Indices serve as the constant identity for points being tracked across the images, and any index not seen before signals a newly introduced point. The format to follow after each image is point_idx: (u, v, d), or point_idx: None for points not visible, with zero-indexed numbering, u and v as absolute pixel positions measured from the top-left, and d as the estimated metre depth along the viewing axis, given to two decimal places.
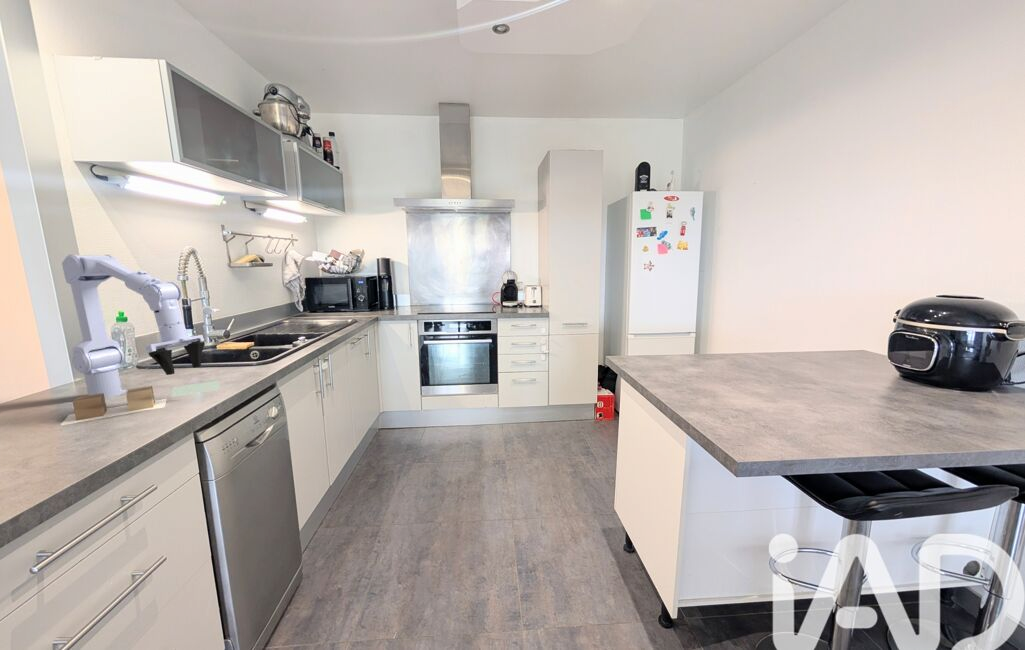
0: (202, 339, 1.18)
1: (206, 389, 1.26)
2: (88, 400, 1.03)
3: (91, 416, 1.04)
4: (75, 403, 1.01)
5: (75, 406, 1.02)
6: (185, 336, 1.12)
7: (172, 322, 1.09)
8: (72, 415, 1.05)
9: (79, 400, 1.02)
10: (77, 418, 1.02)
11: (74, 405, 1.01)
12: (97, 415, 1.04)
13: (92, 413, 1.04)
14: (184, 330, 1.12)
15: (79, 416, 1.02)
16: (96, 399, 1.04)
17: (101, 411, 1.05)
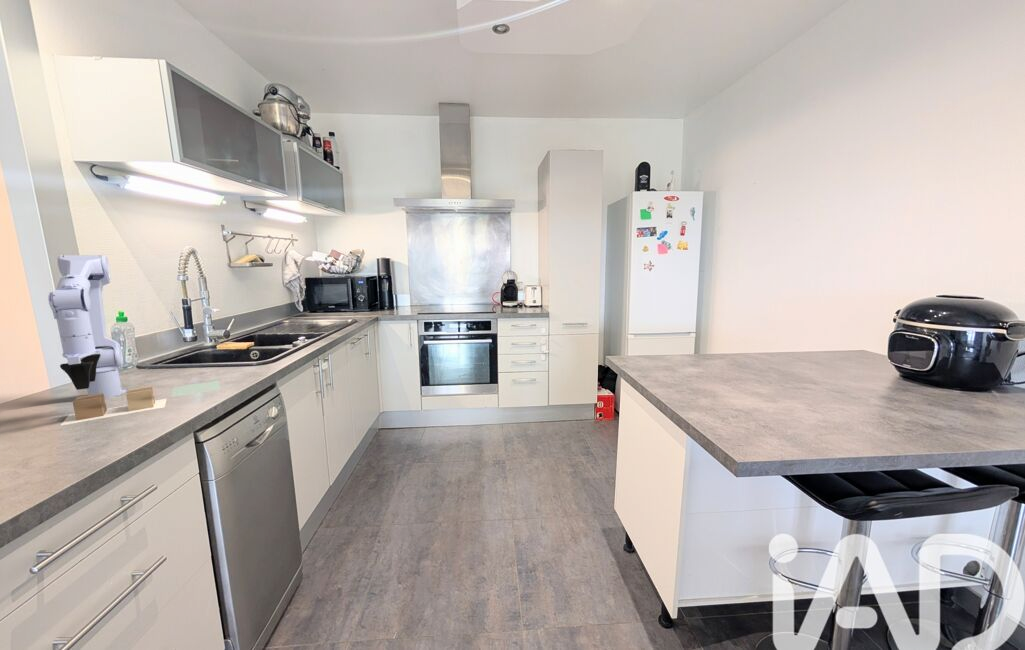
0: None
1: (206, 389, 1.26)
2: (88, 400, 1.03)
3: (91, 416, 1.04)
4: (75, 403, 1.01)
5: (75, 406, 1.02)
6: (94, 347, 1.05)
7: (66, 335, 0.99)
8: (72, 415, 1.05)
9: (79, 400, 1.02)
10: (77, 418, 1.02)
11: (74, 405, 1.01)
12: (97, 415, 1.04)
13: (92, 413, 1.04)
14: None
15: (79, 416, 1.02)
16: (96, 399, 1.04)
17: (101, 411, 1.05)
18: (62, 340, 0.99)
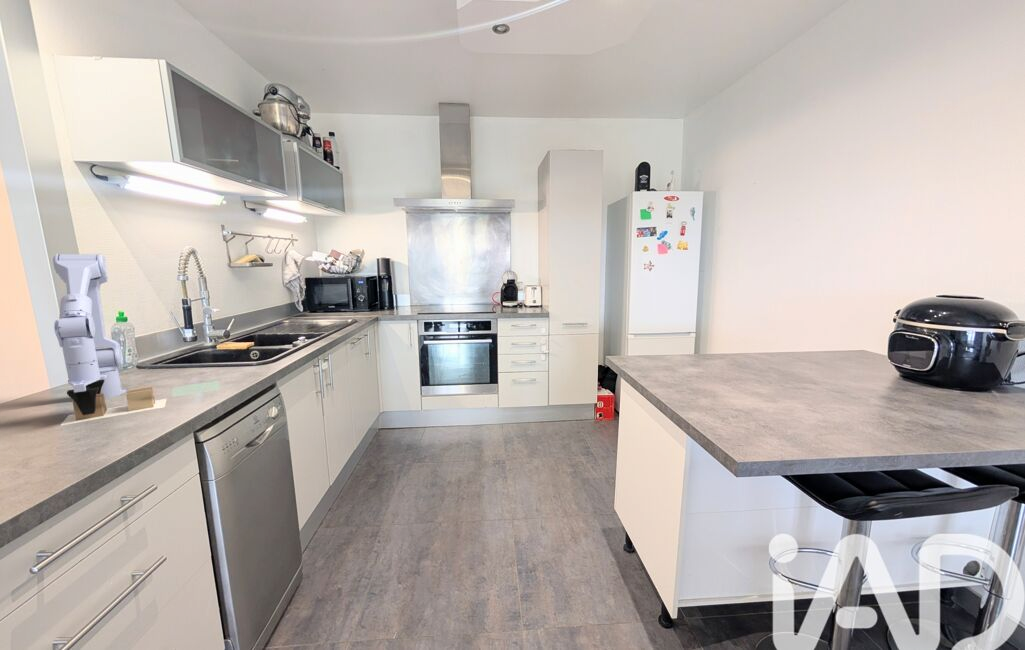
0: None
1: (206, 389, 1.26)
2: None
3: (91, 416, 1.04)
4: (75, 403, 1.01)
5: (75, 406, 1.02)
6: (99, 373, 1.06)
7: (71, 362, 1.00)
8: (72, 415, 1.05)
9: None
10: (77, 418, 1.02)
11: (74, 405, 1.01)
12: (97, 415, 1.04)
13: None
14: None
15: (79, 416, 1.02)
16: (96, 399, 1.04)
17: (101, 411, 1.05)
18: (67, 367, 1.00)
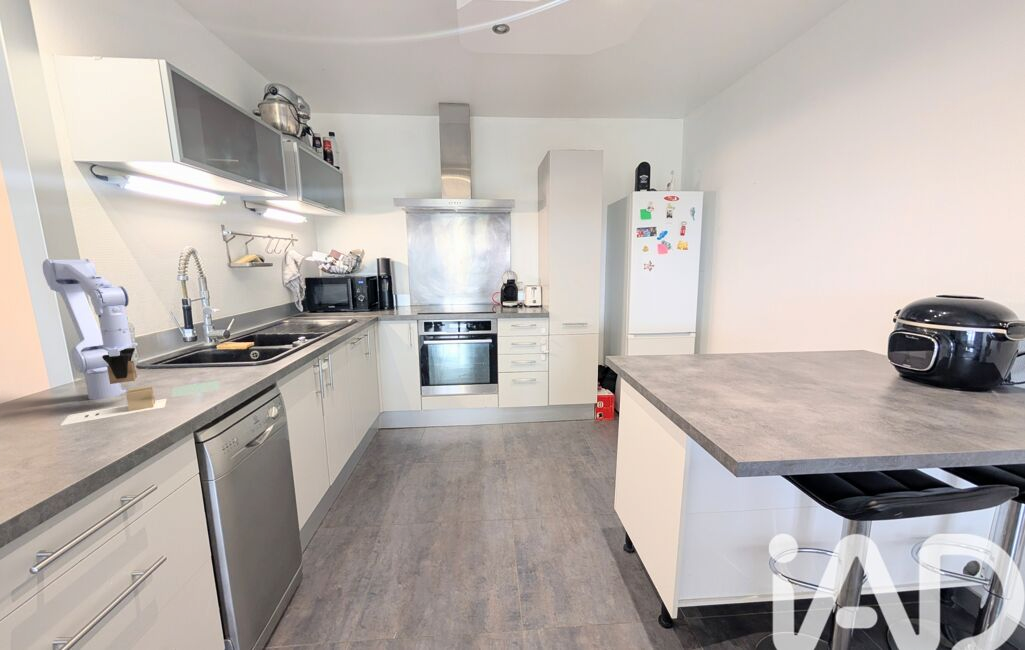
0: None
1: (206, 389, 1.26)
2: None
3: (123, 380, 1.11)
4: (109, 368, 1.09)
5: (109, 371, 1.09)
6: None
7: (112, 329, 1.08)
8: (72, 415, 1.05)
9: None
10: (111, 382, 1.10)
11: (108, 370, 1.09)
12: (129, 380, 1.12)
13: None
14: None
15: (113, 380, 1.10)
16: (128, 365, 1.12)
17: (132, 376, 1.12)
18: (103, 334, 1.08)
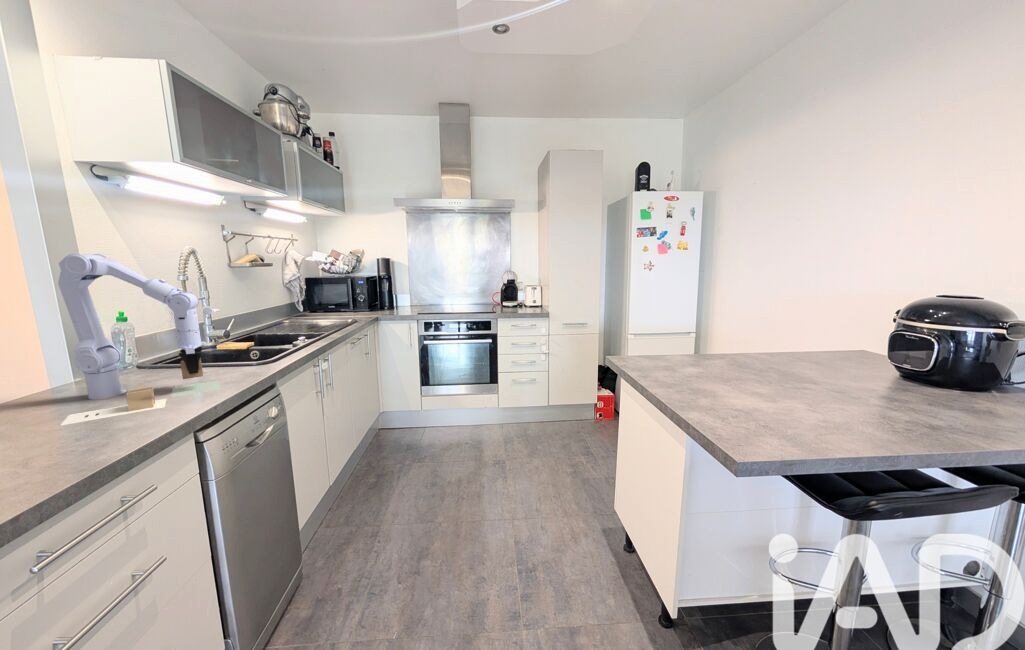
0: None
1: (206, 389, 1.26)
2: None
3: (194, 376, 1.25)
4: (182, 365, 1.22)
5: (182, 367, 1.23)
6: None
7: (194, 328, 1.24)
8: (72, 415, 1.05)
9: (184, 362, 1.23)
10: (183, 377, 1.23)
11: (181, 366, 1.22)
12: (198, 375, 1.25)
13: None
14: None
15: (185, 376, 1.23)
16: None
17: (201, 372, 1.26)
18: (178, 334, 1.22)
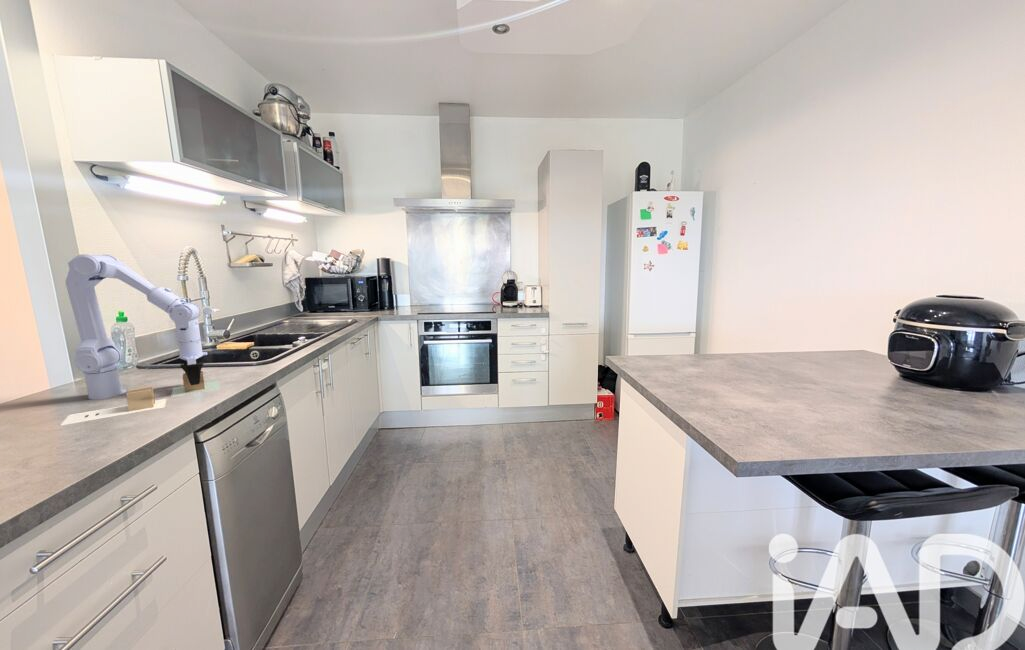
0: None
1: (206, 389, 1.26)
2: None
3: (196, 389, 1.25)
4: (184, 378, 1.23)
5: (184, 380, 1.23)
6: None
7: (196, 339, 1.24)
8: (72, 415, 1.05)
9: None
10: (185, 390, 1.24)
11: (183, 379, 1.23)
12: (200, 388, 1.26)
13: (196, 386, 1.25)
14: None
15: (187, 389, 1.24)
16: (200, 375, 1.26)
17: (203, 385, 1.26)
18: (180, 345, 1.22)
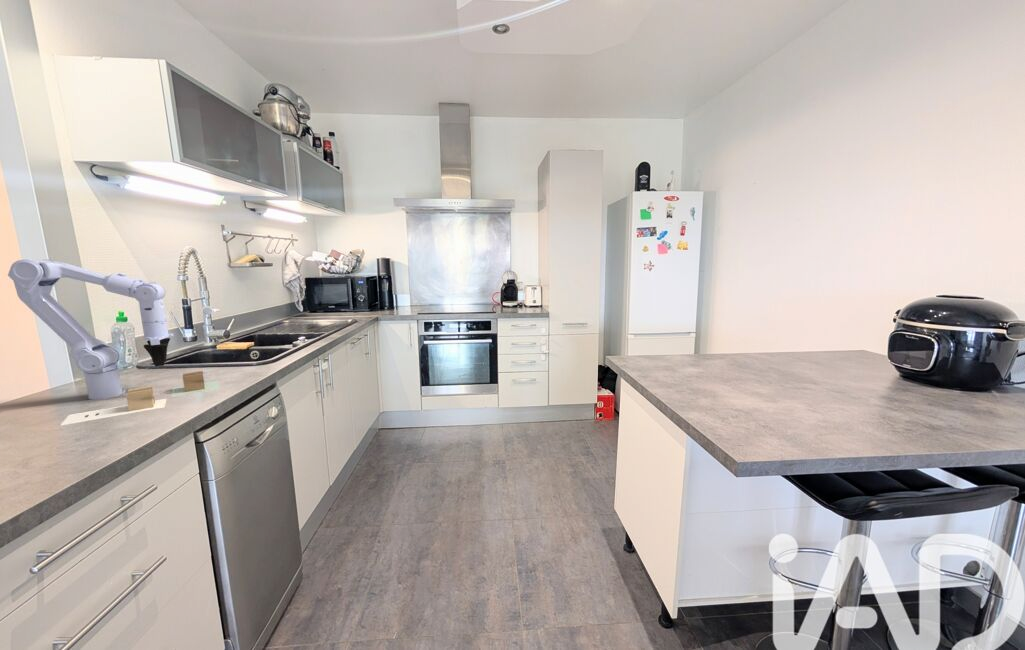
0: None
1: (206, 389, 1.26)
2: (194, 375, 1.25)
3: (196, 389, 1.25)
4: (184, 378, 1.23)
5: (184, 380, 1.23)
6: None
7: (162, 319, 1.22)
8: (72, 415, 1.05)
9: (187, 375, 1.24)
10: (185, 390, 1.24)
11: (183, 379, 1.23)
12: (200, 388, 1.26)
13: (196, 386, 1.25)
14: None
15: (187, 389, 1.24)
16: (200, 375, 1.26)
17: (203, 385, 1.26)
18: (144, 325, 1.20)
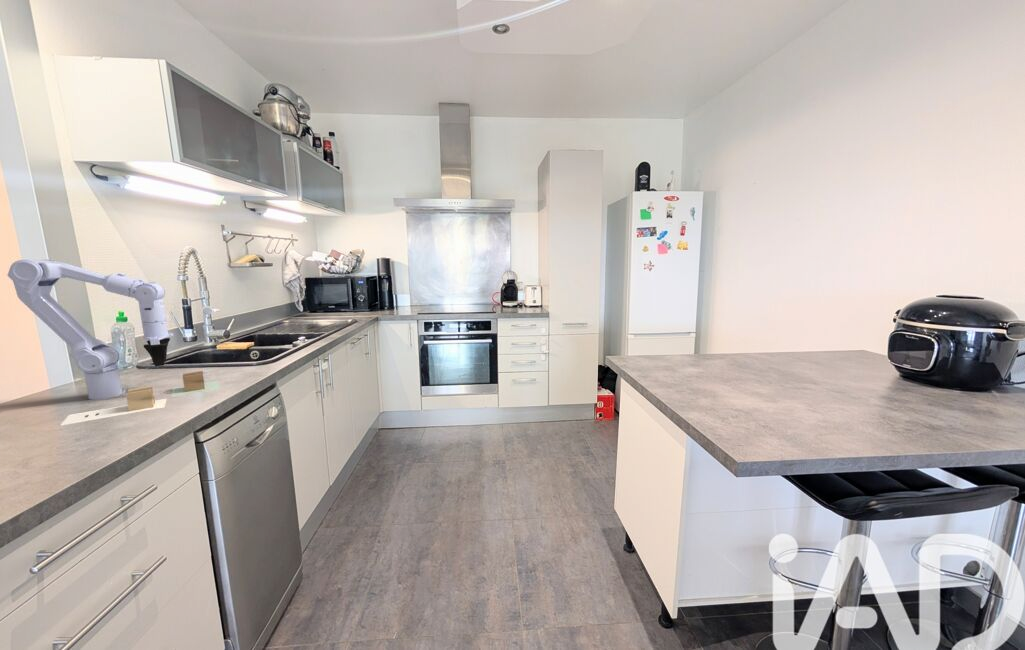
0: None
1: (206, 389, 1.26)
2: (194, 375, 1.25)
3: (196, 389, 1.25)
4: (184, 378, 1.23)
5: (184, 380, 1.23)
6: None
7: (161, 319, 1.22)
8: (72, 415, 1.05)
9: (187, 375, 1.24)
10: (185, 390, 1.24)
11: (183, 379, 1.23)
12: (200, 388, 1.26)
13: (196, 386, 1.25)
14: None
15: (187, 389, 1.24)
16: (200, 375, 1.26)
17: (203, 385, 1.26)
18: (144, 325, 1.20)
